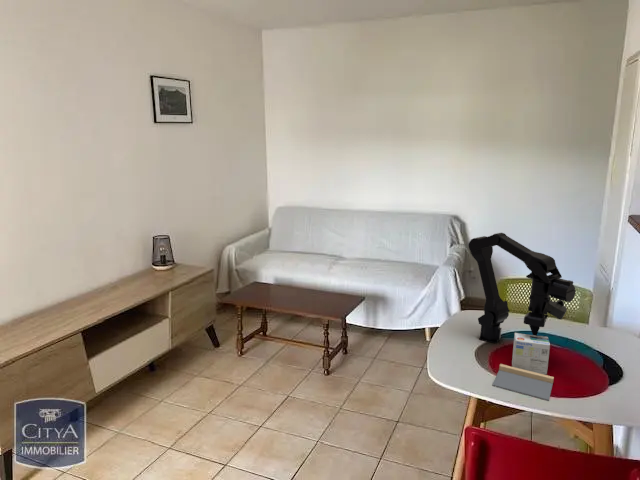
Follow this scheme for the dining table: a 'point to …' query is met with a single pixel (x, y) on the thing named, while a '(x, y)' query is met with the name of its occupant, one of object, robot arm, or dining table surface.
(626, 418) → the dining table surface
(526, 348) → the light bulb box
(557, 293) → the robot arm
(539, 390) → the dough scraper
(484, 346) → the dining table surface
